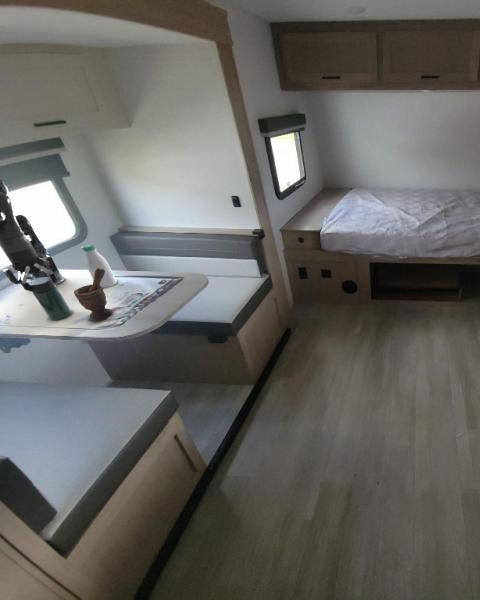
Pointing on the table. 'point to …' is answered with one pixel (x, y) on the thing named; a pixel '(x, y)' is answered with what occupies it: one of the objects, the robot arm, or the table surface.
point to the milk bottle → (98, 265)
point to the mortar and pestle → (94, 297)
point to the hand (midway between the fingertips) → (42, 286)
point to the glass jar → (53, 304)
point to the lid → (41, 284)
